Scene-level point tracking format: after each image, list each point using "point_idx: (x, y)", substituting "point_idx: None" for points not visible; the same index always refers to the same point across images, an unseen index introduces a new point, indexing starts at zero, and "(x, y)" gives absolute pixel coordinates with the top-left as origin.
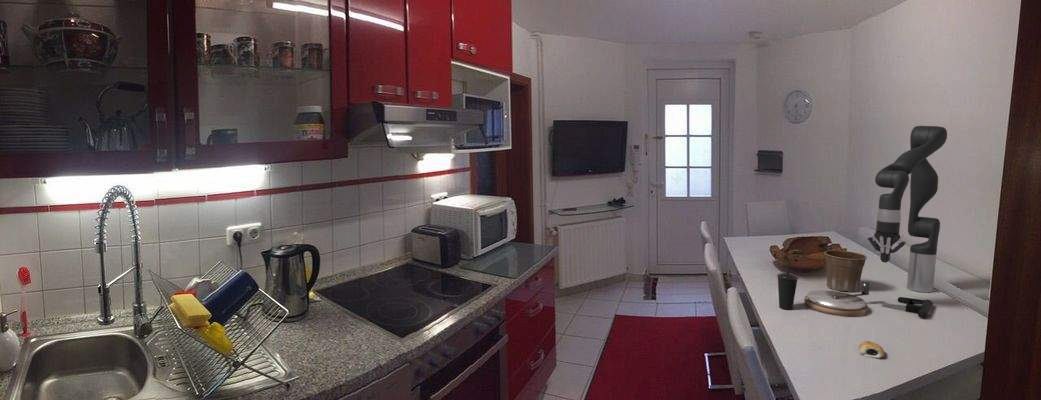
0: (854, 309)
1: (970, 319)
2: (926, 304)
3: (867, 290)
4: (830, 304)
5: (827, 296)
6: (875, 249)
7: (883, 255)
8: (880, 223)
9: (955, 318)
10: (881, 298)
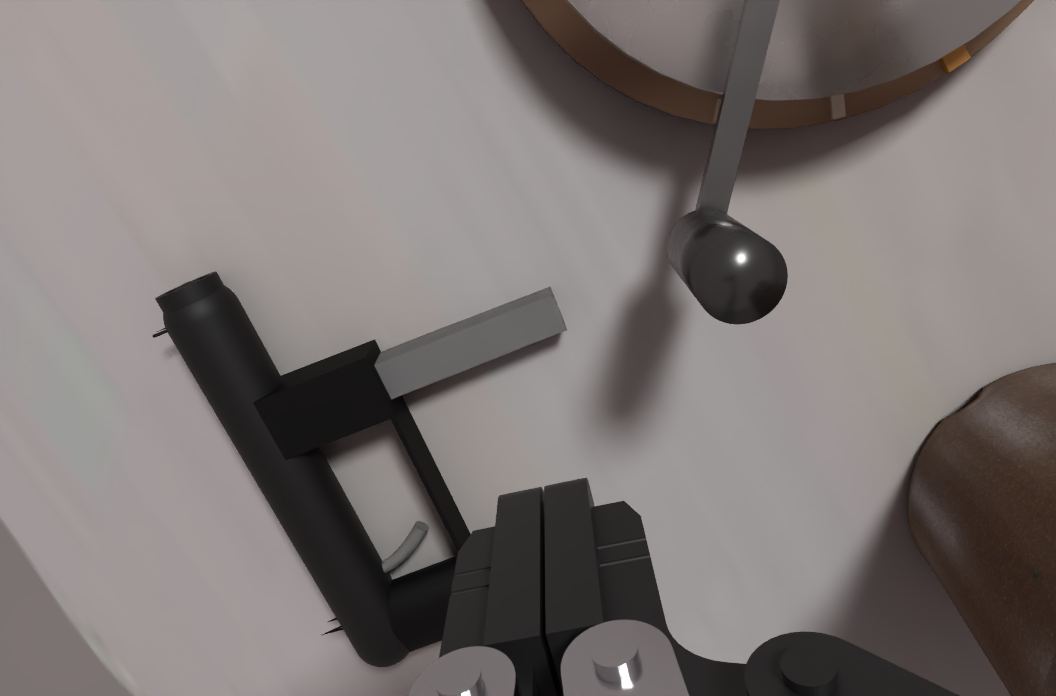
0: None
1: (87, 581)
2: (298, 522)
3: (681, 241)
4: None
5: None
6: (860, 649)
7: (565, 579)
8: None
9: (132, 515)
10: (681, 502)
